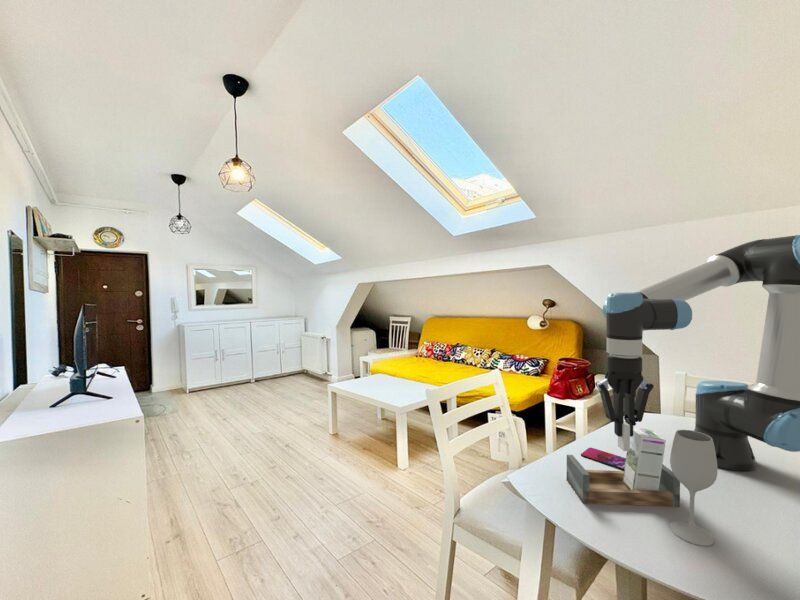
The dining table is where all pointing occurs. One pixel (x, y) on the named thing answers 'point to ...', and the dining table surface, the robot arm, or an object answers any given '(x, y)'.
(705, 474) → the wineglass
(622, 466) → the smartphone
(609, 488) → the track
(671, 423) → the dining table surface
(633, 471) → the syrup box
